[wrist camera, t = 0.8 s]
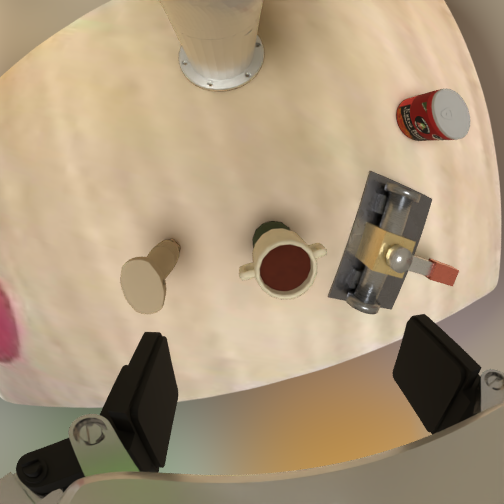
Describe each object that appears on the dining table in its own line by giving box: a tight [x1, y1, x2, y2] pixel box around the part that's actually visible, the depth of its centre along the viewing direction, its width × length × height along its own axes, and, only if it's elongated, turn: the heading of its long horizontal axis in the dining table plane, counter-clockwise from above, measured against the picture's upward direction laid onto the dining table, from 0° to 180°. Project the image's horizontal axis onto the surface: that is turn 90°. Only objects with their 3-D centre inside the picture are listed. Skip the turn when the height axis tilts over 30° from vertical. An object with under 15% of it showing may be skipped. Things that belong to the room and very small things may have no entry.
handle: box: [120, 239, 180, 314], centre depth 36 cm, size 5×6×15 cm
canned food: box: [397, 89, 470, 141], centre depth 33 cm, size 8×8×11 cm
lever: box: [386, 245, 459, 286], centre depth 37 cm, size 14×4×2 cm, turn 75°
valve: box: [328, 171, 432, 314], centre depth 41 cm, size 22×14×7 cm, turn 165°
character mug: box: [239, 221, 327, 300], centre depth 37 cm, size 11×7×13 cm, turn 107°
